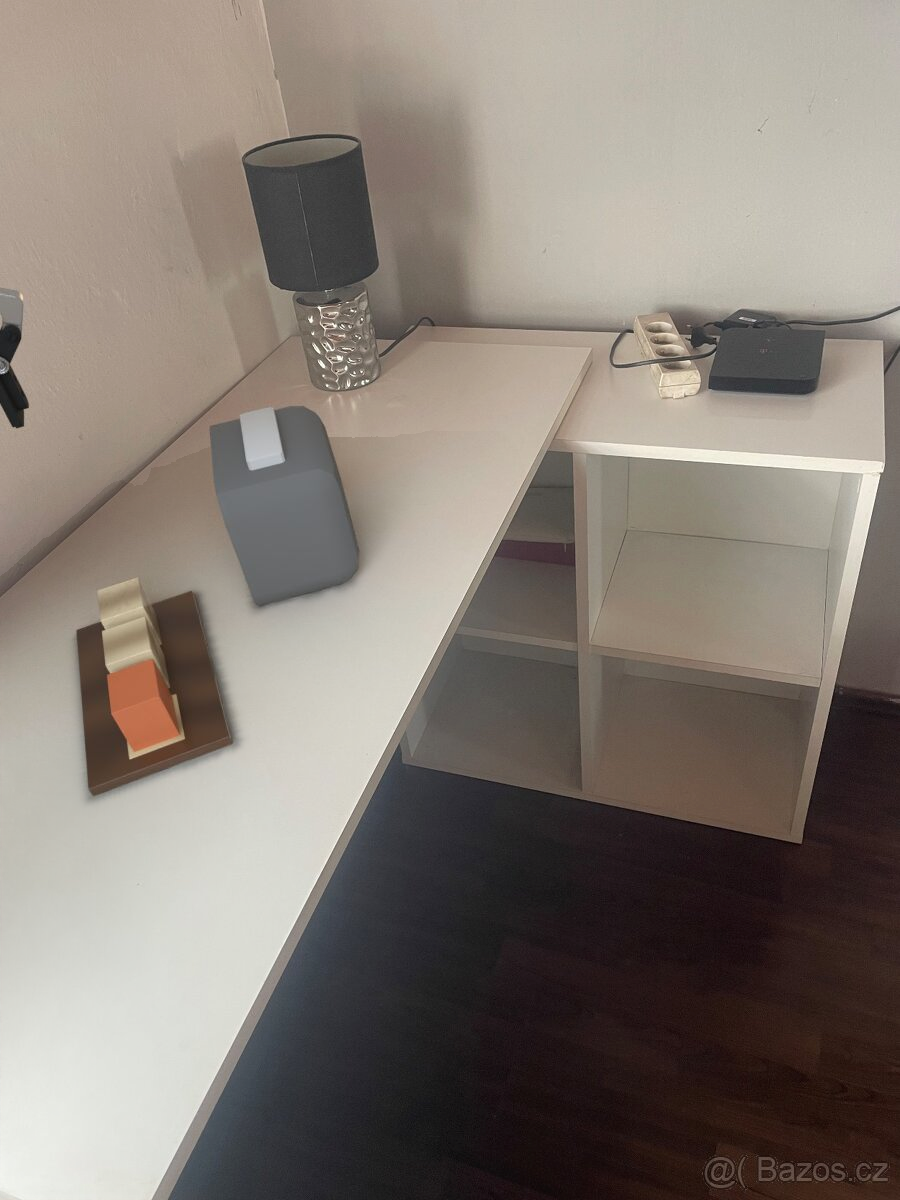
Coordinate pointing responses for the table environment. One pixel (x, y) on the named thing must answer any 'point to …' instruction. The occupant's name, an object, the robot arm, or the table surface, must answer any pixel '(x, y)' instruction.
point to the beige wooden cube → (126, 605)
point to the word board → (188, 687)
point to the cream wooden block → (132, 647)
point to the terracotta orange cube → (142, 705)
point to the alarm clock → (283, 502)
